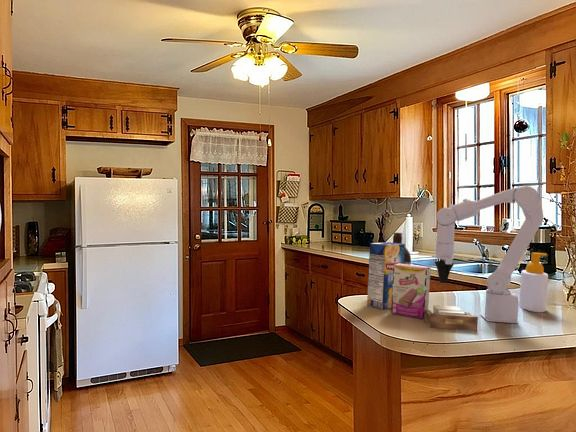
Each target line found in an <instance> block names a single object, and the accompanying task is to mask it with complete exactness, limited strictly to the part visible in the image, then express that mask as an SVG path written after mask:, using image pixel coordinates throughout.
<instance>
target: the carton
mask: <svg viewBox="0 0 576 432" xmlns="http://www.w3.org/2000/svg"><path fill="white" fill-rule="evenodd" d="M432 308H433V309H432V313H440V314H455V315H465V313H464V311H463V310H462V309H461V308H460V307H458V306H453V305H439V304H438V305H435V304H433V307H432Z"/></svg>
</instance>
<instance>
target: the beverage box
mask: <svg viewBox="0 0 576 432" xmlns="http://www.w3.org/2000/svg"><path fill="white" fill-rule="evenodd" d="M405 245H406V244H405V243H402V244H399V243H393V242H392V241H391V242H390V241H387V242H370V243H369V255H368V256H369V258H368V274H367V275H368V277H367V300H366V305H367V306H368V307H372V308H376V309H379V310H387V309H391V305H392V287H393V269H394V265H395V264H398V263H400V264H404V252H405V248H406V246H405Z"/></svg>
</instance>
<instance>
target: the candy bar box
mask: <svg viewBox="0 0 576 432" xmlns="http://www.w3.org/2000/svg"><path fill="white" fill-rule="evenodd" d="M431 270H432V269H431V267H430V266H423V265H415V264H410V265H408V264H400V263H398V264H395V265H394V269H393V287H392V305H391V308H390V314H392V315H393V314H394V315H399V316H405V317H410V318H417V319H421V320H425V310H429V302H430V301H429V300H430V286H431V284H430V282H431Z"/></svg>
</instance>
